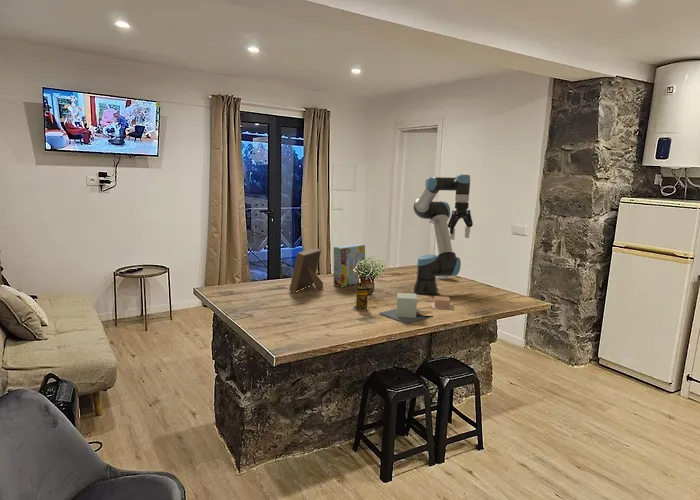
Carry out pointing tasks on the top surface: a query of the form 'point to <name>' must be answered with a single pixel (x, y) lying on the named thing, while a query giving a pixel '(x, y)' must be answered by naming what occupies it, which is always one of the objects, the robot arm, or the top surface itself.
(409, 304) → the pale sage matte cube
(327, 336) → the top surface
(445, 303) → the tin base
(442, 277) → the jar
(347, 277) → the snack box
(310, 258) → the photo frame
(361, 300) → the condiment
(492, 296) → the top surface
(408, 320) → the rubber mat
